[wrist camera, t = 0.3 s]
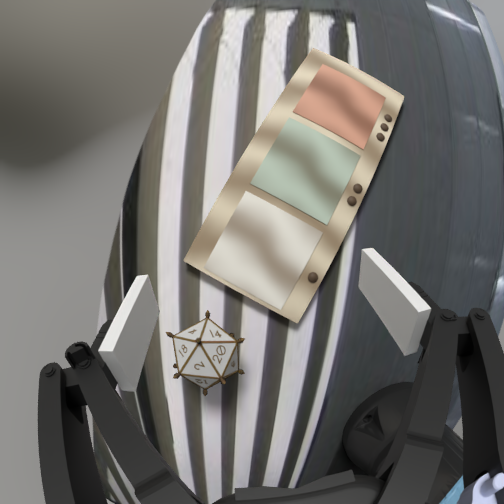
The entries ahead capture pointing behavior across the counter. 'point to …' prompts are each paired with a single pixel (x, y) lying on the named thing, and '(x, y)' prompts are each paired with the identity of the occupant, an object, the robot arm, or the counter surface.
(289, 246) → the board
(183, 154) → the counter surface
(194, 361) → the game die
